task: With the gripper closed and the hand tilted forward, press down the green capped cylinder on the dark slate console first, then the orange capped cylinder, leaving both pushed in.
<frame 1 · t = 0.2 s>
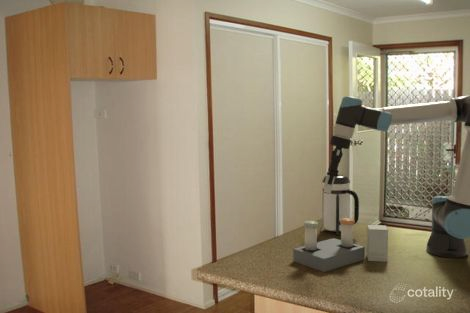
hand: (326, 190, 183), 28 cm above the counter, tool tilted 15°, fingers open, 13 cm apart
supplement box: (376, 259, 187), on the counter
coffee press: (338, 232, 227), on the counter
green capped cylinder: (310, 235, 183), point 10 cm above the counter, slide at 0.0 cm
orange capped cylinder: (347, 232, 187), point 10 cm above the counter, slide at 0.0 cm
console: (328, 260, 186), on the counter
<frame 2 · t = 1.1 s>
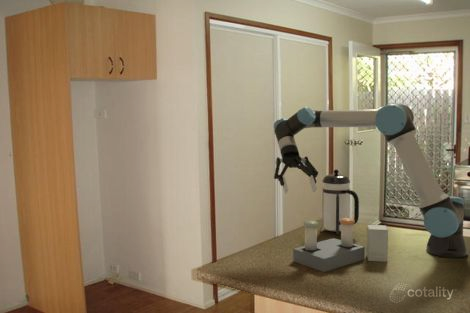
hand: (300, 190, 192), 26 cm above the counter, tool tilted 45°, fingers open, 11 cm apart
nothing on the counter moved.
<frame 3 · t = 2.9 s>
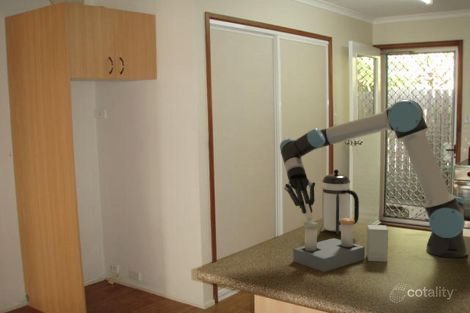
hand: (309, 219, 183), 17 cm above the counter, tool tilted 45°, fingers closed
green capped cylinder: (310, 236, 183), point 10 cm above the counter, slide at 0.3 cm
everything else where it was.
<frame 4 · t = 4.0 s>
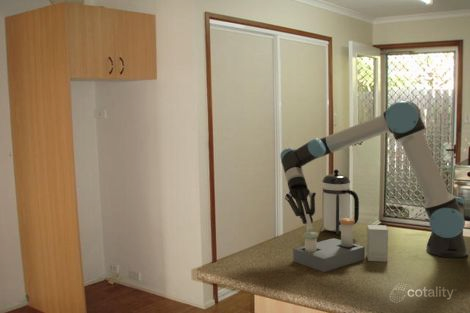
hand: (310, 230, 183), 12 cm above the counter, tool tilted 45°, fingers closed
green capped cylinder: (310, 246, 183), point 6 cm above the counter, slide at 4.3 cm, touching gripper
everything else where it was.
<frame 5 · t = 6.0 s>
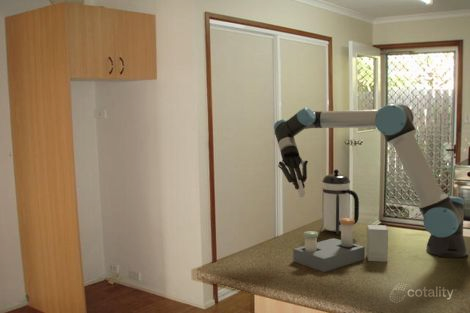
hand: (302, 195, 191), 24 cm above the counter, tool tilted 45°, fingers closed
green capped cylinder: (310, 245, 183), point 6 cm above the counter, slide at 4.1 cm
everything else where it was.
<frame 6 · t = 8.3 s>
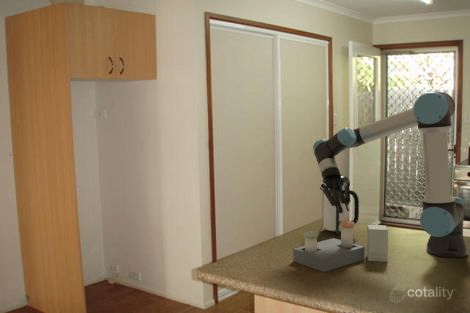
hand: (346, 219, 186), 16 cm above the counter, tool tilted 45°, fingers closed
orange capped cylinder: (347, 235, 187), point 9 cm above the counter, slide at 1.2 cm, touching gripper
everything else where it was.
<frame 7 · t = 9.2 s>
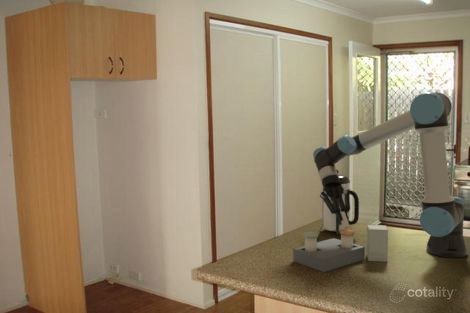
hand: (346, 227, 187), 12 cm above the counter, tool tilted 45°, fingers closed
orange capped cylinder: (346, 243, 187), point 6 cm above the counter, slide at 4.4 cm, touching console, gripper
everything else where it was.
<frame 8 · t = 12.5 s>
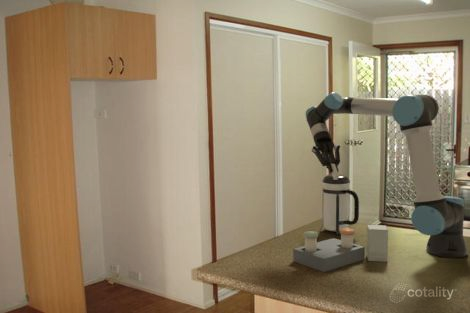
hand: (336, 177, 198), 30 cm above the counter, tool tilted 45°, fingers closed
orange capped cylinder: (346, 242, 187), point 6 cm above the counter, slide at 4.1 cm
everything else where it was.
at the end: green capped cylinder slide at 4.1 cm; orange capped cylinder slide at 4.1 cm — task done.
